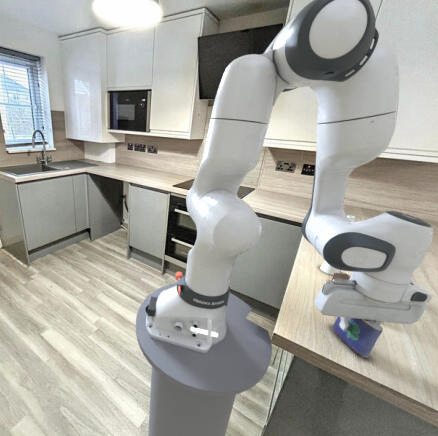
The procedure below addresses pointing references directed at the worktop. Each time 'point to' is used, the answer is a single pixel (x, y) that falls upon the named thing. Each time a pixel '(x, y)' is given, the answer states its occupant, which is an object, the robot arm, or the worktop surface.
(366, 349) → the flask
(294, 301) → the worktop surface
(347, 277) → the walnut block far
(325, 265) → the cosmetic bottle
